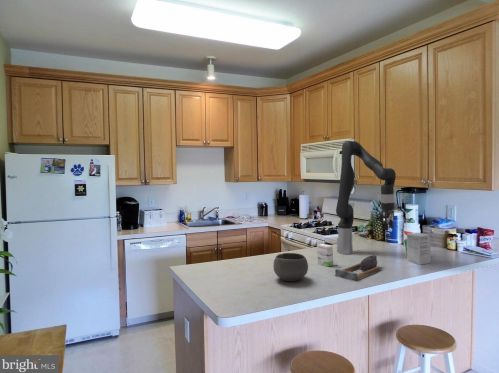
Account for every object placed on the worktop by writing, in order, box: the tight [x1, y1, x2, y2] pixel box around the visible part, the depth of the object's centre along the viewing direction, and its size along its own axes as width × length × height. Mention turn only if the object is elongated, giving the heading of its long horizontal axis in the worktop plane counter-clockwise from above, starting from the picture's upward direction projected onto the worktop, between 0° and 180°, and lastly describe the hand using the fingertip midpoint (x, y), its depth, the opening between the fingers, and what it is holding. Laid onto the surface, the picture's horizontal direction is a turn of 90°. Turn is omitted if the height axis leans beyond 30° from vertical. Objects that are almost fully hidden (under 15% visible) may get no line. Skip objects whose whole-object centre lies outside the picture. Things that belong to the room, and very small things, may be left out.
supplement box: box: [406, 232, 432, 266], centre depth 203 cm, size 10×9×17 cm
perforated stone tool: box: [359, 254, 378, 272], centre depth 192 cm, size 15×5×7 cm, turn 126°
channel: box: [334, 262, 381, 282], centre depth 185 cm, size 12×25×4 cm, turn 131°
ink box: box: [316, 243, 334, 267], centre depth 203 cm, size 9×5×12 cm, turn 34°
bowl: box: [273, 252, 309, 282], centre depth 178 cm, size 18×18×13 cm
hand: (388, 228), depth 202 cm, fingers open, 8 cm apart
